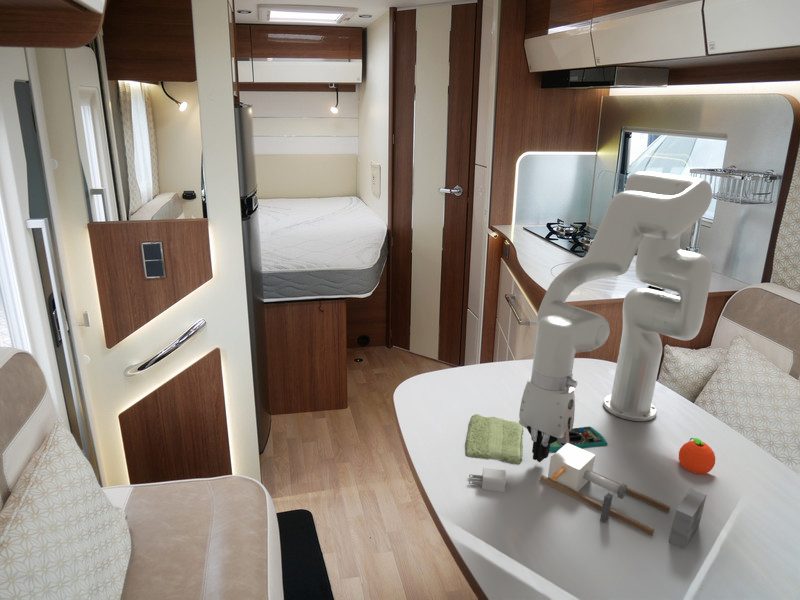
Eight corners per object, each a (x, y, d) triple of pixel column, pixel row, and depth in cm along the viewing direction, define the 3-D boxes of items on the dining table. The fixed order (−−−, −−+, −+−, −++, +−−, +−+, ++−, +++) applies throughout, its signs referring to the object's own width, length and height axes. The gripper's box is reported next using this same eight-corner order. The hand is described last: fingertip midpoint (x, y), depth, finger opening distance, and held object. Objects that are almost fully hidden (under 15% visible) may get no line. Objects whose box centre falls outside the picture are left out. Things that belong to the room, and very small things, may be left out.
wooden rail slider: (553, 459, 127) (558, 426, 124) (701, 528, 108) (711, 490, 106) (519, 488, 117) (523, 453, 114) (675, 569, 98) (685, 529, 96)
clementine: (668, 458, 129) (675, 429, 127) (701, 460, 129) (707, 431, 127) (683, 480, 122) (690, 450, 119) (717, 482, 121) (725, 453, 119)
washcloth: (523, 429, 139) (525, 417, 138) (523, 473, 123) (525, 459, 121) (467, 421, 141) (469, 409, 140) (460, 463, 125) (461, 450, 124)
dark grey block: (603, 516, 108) (608, 492, 106) (608, 518, 107) (612, 494, 106) (599, 520, 107) (604, 496, 105) (604, 522, 106) (609, 498, 105)
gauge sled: (563, 465, 122) (567, 442, 121) (629, 495, 114) (633, 471, 112) (536, 489, 114) (540, 465, 113) (604, 524, 106) (609, 498, 104)
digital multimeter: (609, 452, 131) (611, 441, 130) (548, 459, 127) (550, 448, 126) (590, 435, 138) (592, 423, 137) (532, 441, 134) (534, 430, 133)
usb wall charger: (503, 498, 114) (505, 481, 113) (467, 493, 115) (469, 476, 114) (503, 485, 118) (505, 468, 116) (468, 481, 119) (470, 464, 117)
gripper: (595, 384, 114) (581, 465, 120) (527, 360, 123) (517, 436, 129) (577, 397, 108) (564, 482, 114) (507, 371, 118) (498, 450, 124)
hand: (539, 457), depth 122 cm, fingers closed
